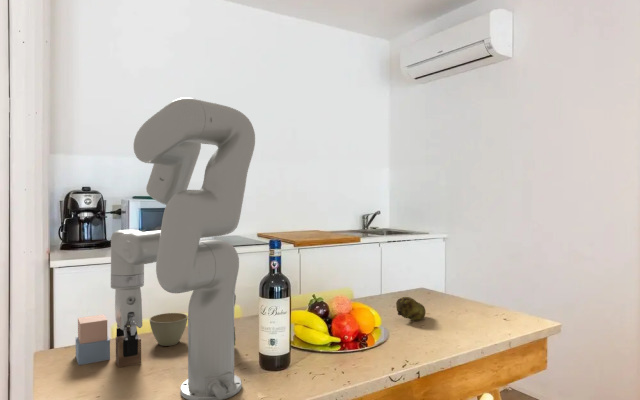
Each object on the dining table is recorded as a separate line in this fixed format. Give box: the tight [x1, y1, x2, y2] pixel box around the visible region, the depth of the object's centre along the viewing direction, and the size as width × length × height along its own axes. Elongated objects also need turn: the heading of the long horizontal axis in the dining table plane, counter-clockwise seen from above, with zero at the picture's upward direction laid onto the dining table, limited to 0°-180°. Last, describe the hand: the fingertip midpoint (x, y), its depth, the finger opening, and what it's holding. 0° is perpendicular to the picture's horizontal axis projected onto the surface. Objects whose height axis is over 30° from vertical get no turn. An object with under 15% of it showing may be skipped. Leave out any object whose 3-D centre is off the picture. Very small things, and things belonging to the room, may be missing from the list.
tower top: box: [77, 314, 108, 344], centre depth 113 cm, size 6×6×5 cm
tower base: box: [75, 335, 111, 366], centre depth 113 cm, size 7×7×5 cm
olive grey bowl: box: [149, 312, 188, 347], centre depth 124 cm, size 10×10×7 cm
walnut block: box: [115, 334, 142, 368], centre depth 110 cm, size 5×5×6 cm
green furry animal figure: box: [395, 296, 426, 322], centre depth 147 cm, size 8×13×8 cm, turn 119°
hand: (126, 349), depth 110 cm, fingers open, 9 cm apart
